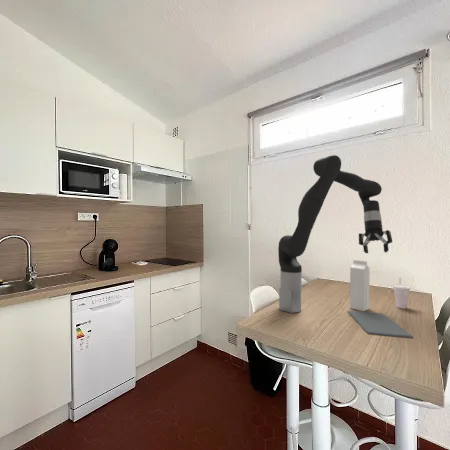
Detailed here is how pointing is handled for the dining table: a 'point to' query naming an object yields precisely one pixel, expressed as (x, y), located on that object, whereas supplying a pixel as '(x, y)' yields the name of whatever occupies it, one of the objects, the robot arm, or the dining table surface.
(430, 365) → the dining table surface
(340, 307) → the dining table surface
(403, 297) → the smoothie
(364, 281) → the milk
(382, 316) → the mat
